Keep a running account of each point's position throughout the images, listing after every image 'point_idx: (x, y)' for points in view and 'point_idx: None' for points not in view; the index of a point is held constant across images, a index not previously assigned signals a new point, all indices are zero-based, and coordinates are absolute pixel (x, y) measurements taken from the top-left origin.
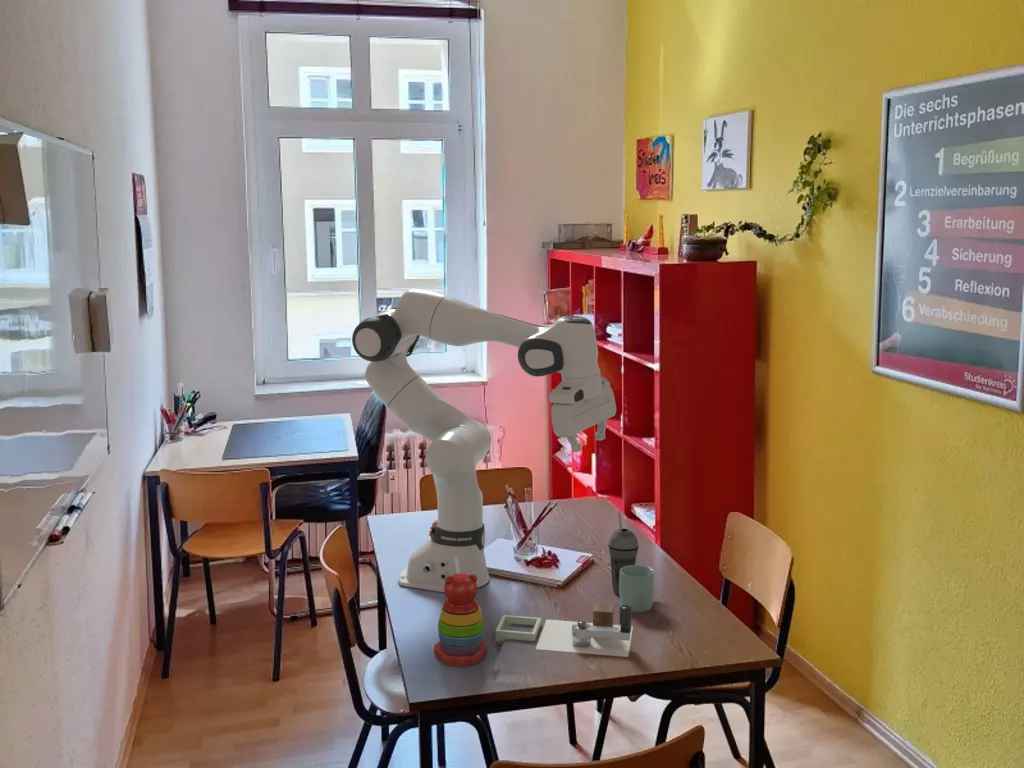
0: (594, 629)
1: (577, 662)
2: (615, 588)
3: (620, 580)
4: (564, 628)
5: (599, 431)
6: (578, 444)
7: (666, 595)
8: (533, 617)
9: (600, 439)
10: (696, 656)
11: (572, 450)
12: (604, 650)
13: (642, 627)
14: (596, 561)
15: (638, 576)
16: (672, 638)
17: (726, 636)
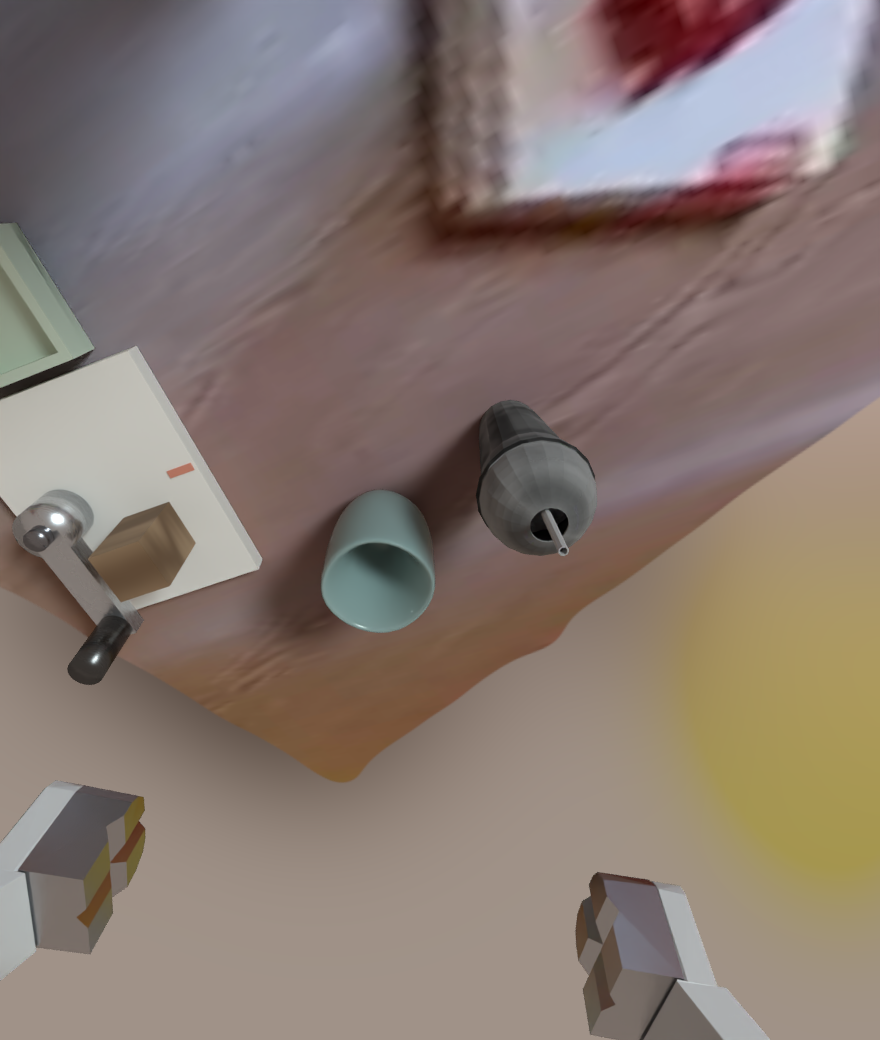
0: (57, 568)
1: None
2: (482, 423)
3: (339, 538)
4: (115, 428)
5: (664, 1017)
6: (23, 946)
7: None
8: (56, 335)
9: (580, 924)
10: (243, 697)
11: (47, 795)
12: None
13: (306, 565)
14: (748, 225)
15: (413, 561)
16: (293, 636)
17: (372, 710)
